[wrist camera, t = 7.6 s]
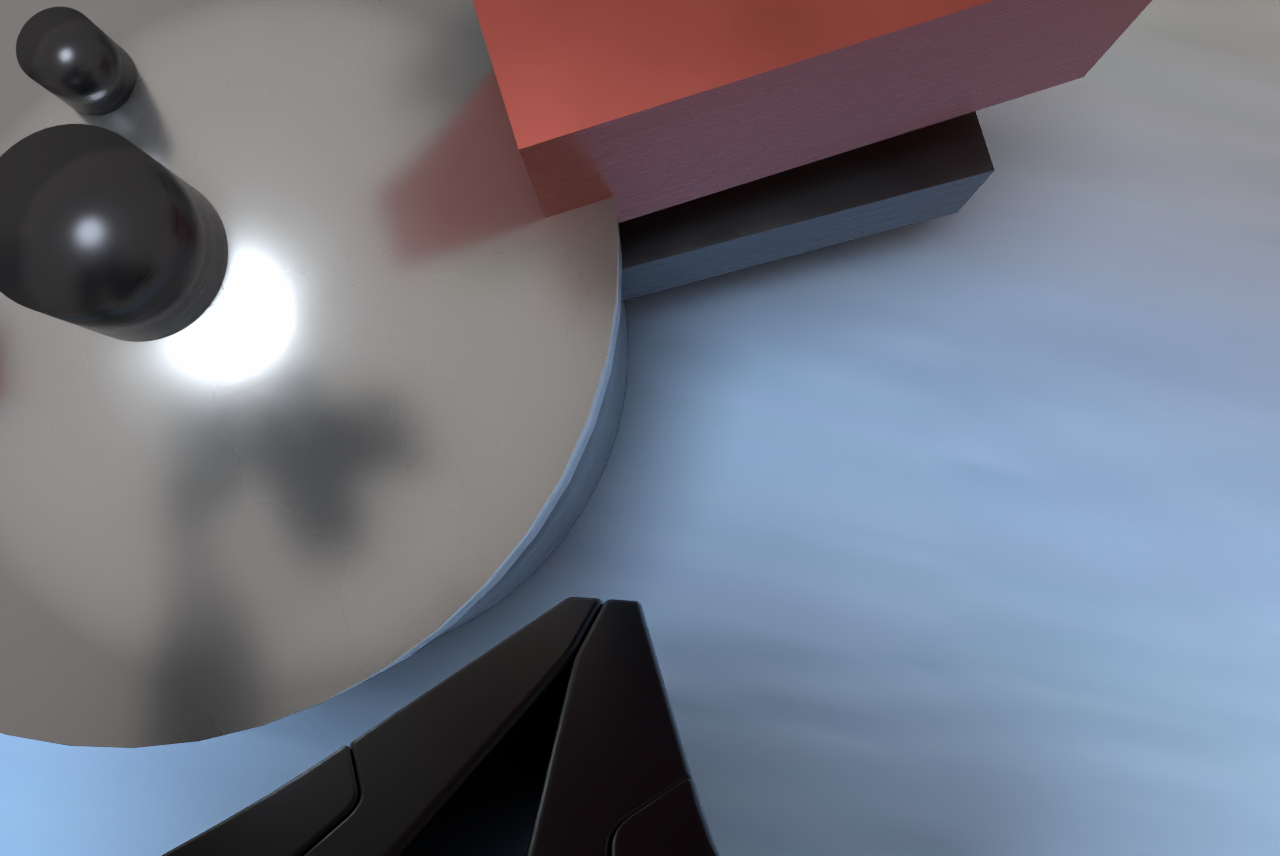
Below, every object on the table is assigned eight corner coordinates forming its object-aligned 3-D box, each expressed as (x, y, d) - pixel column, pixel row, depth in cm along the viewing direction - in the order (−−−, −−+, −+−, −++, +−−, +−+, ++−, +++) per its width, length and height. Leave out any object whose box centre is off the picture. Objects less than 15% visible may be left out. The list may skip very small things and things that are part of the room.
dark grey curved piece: (1003, 491, 21) (1136, 473, 15) (-23, 762, 21) (-302, 853, 15) (827, -75, 22) (884, -296, 16) (-122, 179, 22) (-408, 50, 17)
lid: (1217, 419, 15) (1401, 380, 11) (-295, 895, 14) (-624, 1018, 11) (910, -365, 16) (979, -628, 13) (-444, 60, 16) (-771, -80, 13)
